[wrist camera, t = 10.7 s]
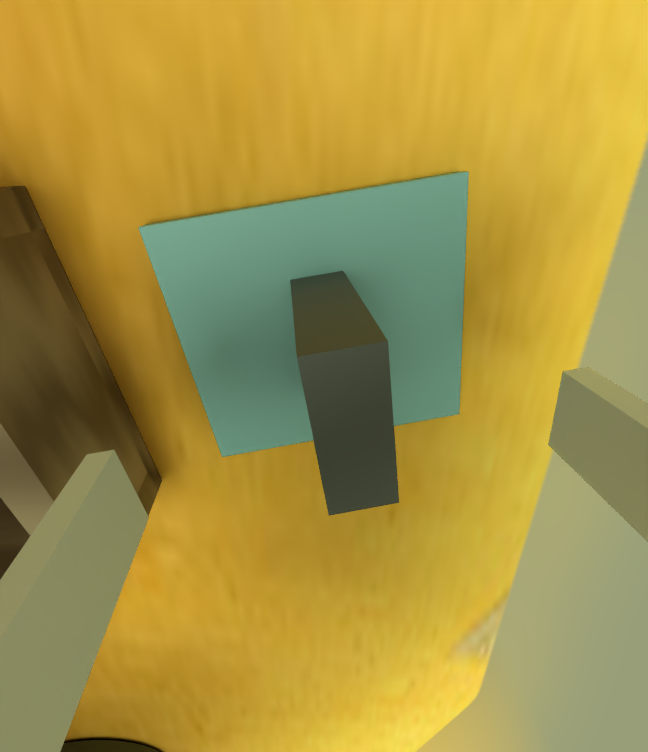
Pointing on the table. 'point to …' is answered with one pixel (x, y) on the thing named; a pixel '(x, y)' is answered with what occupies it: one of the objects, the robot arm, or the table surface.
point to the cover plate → (260, 314)
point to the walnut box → (51, 383)
